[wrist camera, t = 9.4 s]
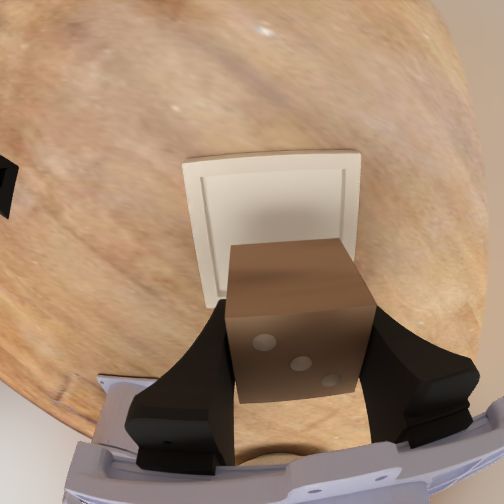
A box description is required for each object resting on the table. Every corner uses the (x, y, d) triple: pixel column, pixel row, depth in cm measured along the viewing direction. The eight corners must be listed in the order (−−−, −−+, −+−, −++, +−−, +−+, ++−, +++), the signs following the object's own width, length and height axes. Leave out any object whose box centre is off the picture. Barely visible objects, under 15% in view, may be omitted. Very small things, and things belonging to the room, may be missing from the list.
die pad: (344, 287, 24) (349, 297, 23) (208, 297, 24) (206, 308, 23) (353, 149, 19) (360, 153, 17) (186, 158, 19) (182, 163, 18)
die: (331, 319, 16) (354, 392, 12) (240, 327, 16) (239, 404, 12) (339, 237, 14) (377, 305, 9) (230, 245, 14) (224, 319, 9)
